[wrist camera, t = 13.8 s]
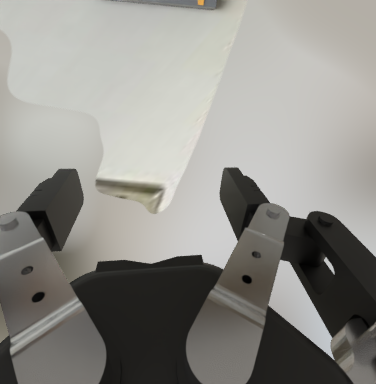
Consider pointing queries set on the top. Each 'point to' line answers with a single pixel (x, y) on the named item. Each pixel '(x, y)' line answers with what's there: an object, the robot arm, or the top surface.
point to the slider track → (179, 3)
